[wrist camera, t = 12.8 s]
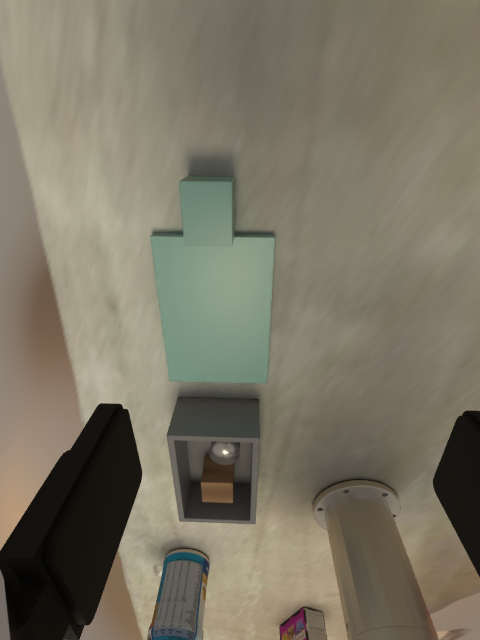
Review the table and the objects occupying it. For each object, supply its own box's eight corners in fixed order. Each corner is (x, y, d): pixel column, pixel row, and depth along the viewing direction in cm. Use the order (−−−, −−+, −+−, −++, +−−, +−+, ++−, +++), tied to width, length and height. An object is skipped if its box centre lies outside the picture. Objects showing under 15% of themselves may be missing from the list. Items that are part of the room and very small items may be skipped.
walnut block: (234, 475, 46) (232, 502, 42) (206, 474, 46) (202, 501, 43) (234, 456, 44) (232, 483, 40) (204, 455, 44) (200, 482, 41)
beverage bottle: (191, 541, 56) (163, 723, 39) (220, 563, 59) (206, 740, 42) (154, 554, 59) (112, 730, 41) (184, 575, 62) (156, 746, 44)
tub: (255, 482, 48) (255, 524, 42) (187, 479, 48) (179, 521, 43) (258, 399, 40) (259, 438, 35) (178, 397, 40) (166, 435, 35)
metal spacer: (245, 437, 42) (244, 460, 39) (220, 444, 43) (217, 468, 40) (233, 418, 41) (231, 441, 38) (207, 426, 41) (204, 449, 38)
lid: (266, 377, 39) (268, 401, 35) (171, 375, 39) (163, 399, 35) (277, 176, 28) (280, 181, 24) (145, 175, 28) (130, 181, 25)
